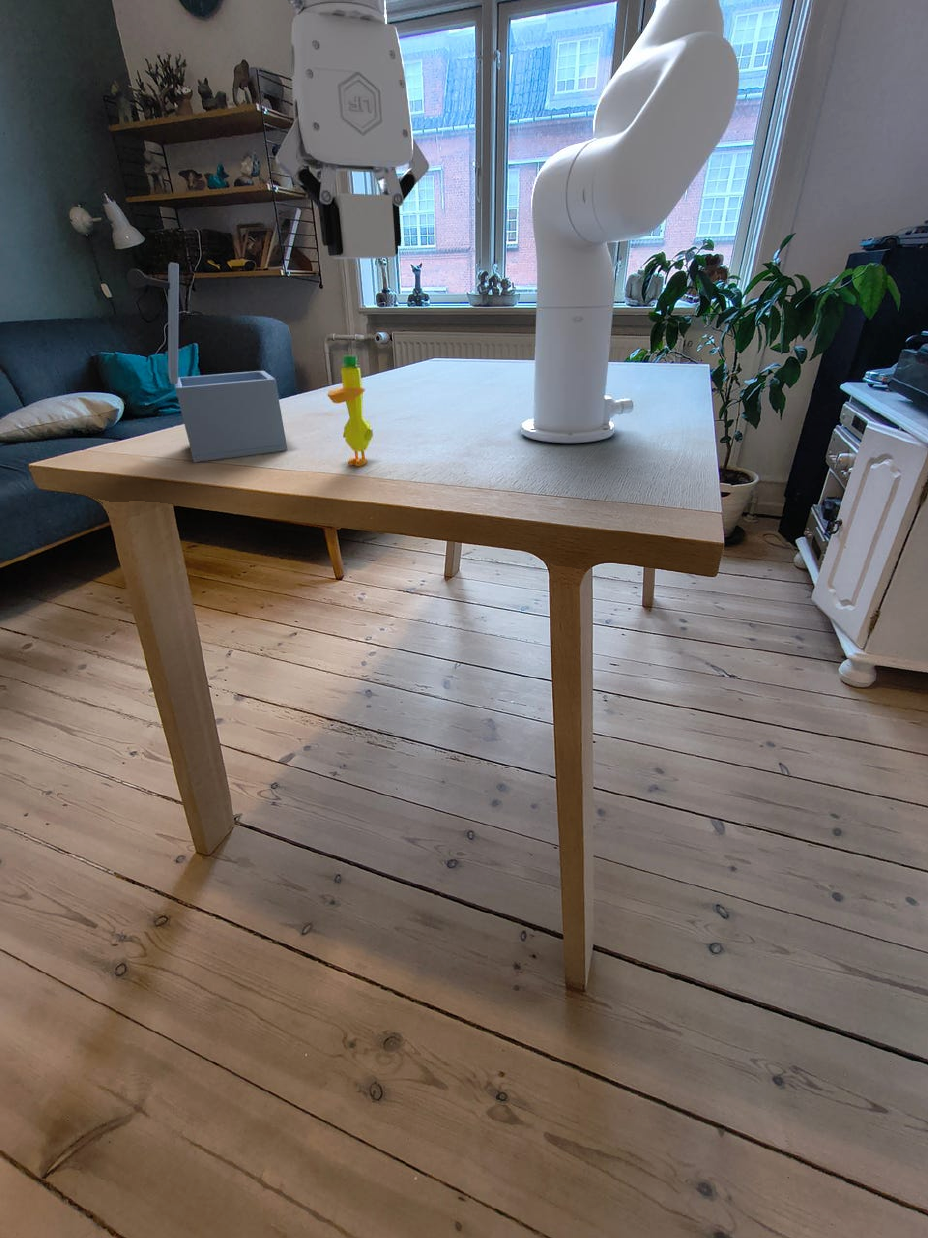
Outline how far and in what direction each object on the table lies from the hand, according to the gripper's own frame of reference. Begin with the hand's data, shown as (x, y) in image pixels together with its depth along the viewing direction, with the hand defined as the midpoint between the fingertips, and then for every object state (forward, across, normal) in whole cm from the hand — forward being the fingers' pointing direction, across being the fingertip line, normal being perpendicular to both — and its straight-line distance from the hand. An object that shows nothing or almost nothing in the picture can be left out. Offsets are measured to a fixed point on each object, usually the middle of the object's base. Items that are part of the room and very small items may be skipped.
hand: (363, 252), depth 60 cm
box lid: (+7, -18, +19) cm, 27 cm away
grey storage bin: (+22, -14, +19) cm, 32 cm away
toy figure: (+22, -2, +2) cm, 22 cm away
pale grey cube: (0, 0, 0) cm, 0 cm away
